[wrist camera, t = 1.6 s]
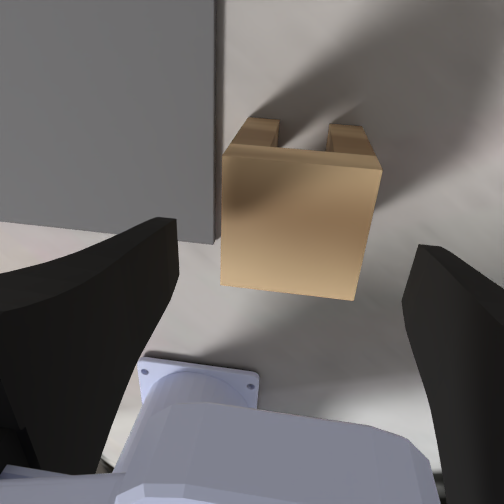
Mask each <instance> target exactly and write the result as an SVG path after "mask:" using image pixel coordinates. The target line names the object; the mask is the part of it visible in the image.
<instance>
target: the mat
mask: <svg viewBox="0 0 504 504" xmlns="http://www.w3.org/2000/svg"><path fill="white" fill-rule="evenodd" d="M215 75H216V0H0V221H1V222H10V223H19V224H28V225H38V226H47V227H56V228H65V229H74V230H83V231H92V232H101V233H110V234H120V233H122V232H124V231H126V230H128V229H130V228H132V227H134V226H136V225H138V224H141V223H143V222H145V221H147V220H149V219H152V218H155V217H164V218H174V219H177V237H178V241H183V242H192V243H202V244H211V245H213V244H214V242H215Z"/></svg>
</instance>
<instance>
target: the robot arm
mask: <svg viewBox="0 0 504 504" xmlns="http://www.w3.org/2000/svg"><path fill="white" fill-rule="evenodd" d="M178 277H179V257H178V237H177V219H174V218H164V217H155V218H152V219H149V220H147V221H145V222H143V223H141V224H138V225H136V226H134V227H132V228H130V229H128V230H126V231H124V232H122V233H120V234H117V235H115V236H113V237H111V238H109V239H107V240H104V241H102V242H100V243H97V244H95V245H93V246H90V247H88V248H86V249H83V250H81V251H78V252H76V253H73V254H70V255H67V256H64V257H61V258H58V259H55V260H52V261H49V262H45V263H42V264H38V265H34V266H30V267H26V268H22V269H18V270H14V271H10V272H6V273H1V274H0V504H440V500H439V496H438V493H437V489H436V485H435V481H434V477H433V473H432V470H431V466H430V462H429V460H428V459H427V458H426V457H425V456H424V455H423V454H422V453H421V452H420V451H419V450H418V449H417V448H416V447H415V446H414V445H413V444H412V443H411V442H410V441H409V440H408V439H406V438H404V437H402V436H399V435H396V434H393V433H390V432H387V431H384V430H381V429H378V428H375V427H372V426H369V425H363V424H356V423H349V422H342V421H335V420H328V419H322V418H315V417H308V416H301V415H294V414H287V413H281V412H274V411H267V410H260V409H257V402H258V390H259V379H260V378H259V375H258V374H257V373H255V372H252V371H245V370H238V369H230V368H223V367H216V366H208V365H201V364H194V363H187V362H179V361H172V360H165V359H157V358H150V357H141V358H140V359H139V357H140V355H141V353H142V352H143V350H144V348H145V346H146V344H147V342H148V341H149V339H150V337H151V335H152V333H153V331H154V330H155V328H156V326H157V324H158V322H159V321H160V319H161V317H162V315H163V313H164V311H165V309H166V307H167V306H168V304H169V302H170V300H171V297H172V294H173V292H174V289H175V286H176V283H177V280H178ZM402 307H403V315H404V321H405V327H406V331H407V335H408V338H409V341H410V344H411V348H412V351H413V354H414V357H415V360H416V363H417V366H418V369H419V372H420V376H421V379H422V382H423V385H424V388H425V391H426V394H427V398H428V402H429V405H430V409H431V414H432V419H433V424H434V429H435V434H436V439H437V444H438V450H439V456H440V462H441V468H442V474H443V480H444V487H445V494H446V500H447V504H504V289H503V288H502V287H500V286H499V285H497V284H496V283H494V282H493V281H491V280H490V279H488V278H487V277H485V276H484V275H483V274H481V273H480V272H478V271H477V270H475V269H474V268H473V267H471V266H470V265H468V264H467V263H466V262H464V261H463V260H461V259H460V258H458V257H457V256H455V255H454V254H453V253H451V252H449V251H448V250H446V249H444V248H442V247H440V246H430V245H421V244H419V245H418V248H417V252H416V255H415V258H414V262H413V265H412V268H411V271H410V275H409V278H408V281H407V285H406V288H405V291H404V295H403V298H402ZM138 359H139V361H138ZM137 361H138V363H137ZM136 364H137V368H138V375H139V383H140V391H141V398H142V407H141V410H140V412H139V414H138V416H137V418H136V421H135V423H134V425H133V427H132V430H131V432H130V434H129V436H128V439H127V441H126V443H125V445H124V448H123V450H122V452H121V454H120V457H119V459H118V461H117V463H116V466H115V468H114V470H113V472H112V473H105V474H95V473H96V469H97V467H98V464H99V461H100V458H101V455H102V452H103V449H104V446H105V444H106V441H107V438H108V435H109V432H110V429H111V426H112V424H113V421H114V418H115V416H116V413H117V411H118V408H119V405H120V403H121V400H122V397H123V395H124V392H125V390H126V387H127V385H128V382H129V380H130V377H131V375H132V373H133V370H134V368H135V366H136ZM145 369H146V370H145ZM250 384H253V385H250Z"/></svg>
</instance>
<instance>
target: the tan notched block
mask: <svg viewBox="0 0 504 504" xmlns="http://www.w3.org/2000/svg"><path fill="white" fill-rule="evenodd" d="M279 121H280V120H278V119H265V118H253V117H248V118H247V120H246V121H245V123H244V124H243V126H242V127H241V129H240V130H239V132H238V133H237V135H236V136H235V138H234V139H233V140H232V142H231V143H230V145H229V146H228V148H227V149H226V151H225V152H224V154H223V155H222V203H221V280H220V285H224V286H232V287H241V288H249V289H257V290H266V291H274V292H283V293H291V294H300V295H308V296H316V297H325V298H333V299H342V300H350V301H354V297H355V292H356V288H357V283H358V279H359V274H360V270H361V265H362V261H363V256H364V252H365V248H366V243H367V239H368V234H369V230H370V225H371V221H372V216H373V212H374V207H375V203H376V198H377V194H378V189H379V185H380V180H381V176H382V171H383V170H382V167H381V165H380V163H379V161H378V159H377V157H376V155H375V153H374V151H373V148H372V146H371V144H370V142H369V140H368V138H367V136H366V134H365V132H364V129H363V127H362V126H352V125H340V124H329V131H328V138H327V145H326V152H324V151H312V150H301V149H289V148H278V147H277V145H278V133H279Z"/></svg>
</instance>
